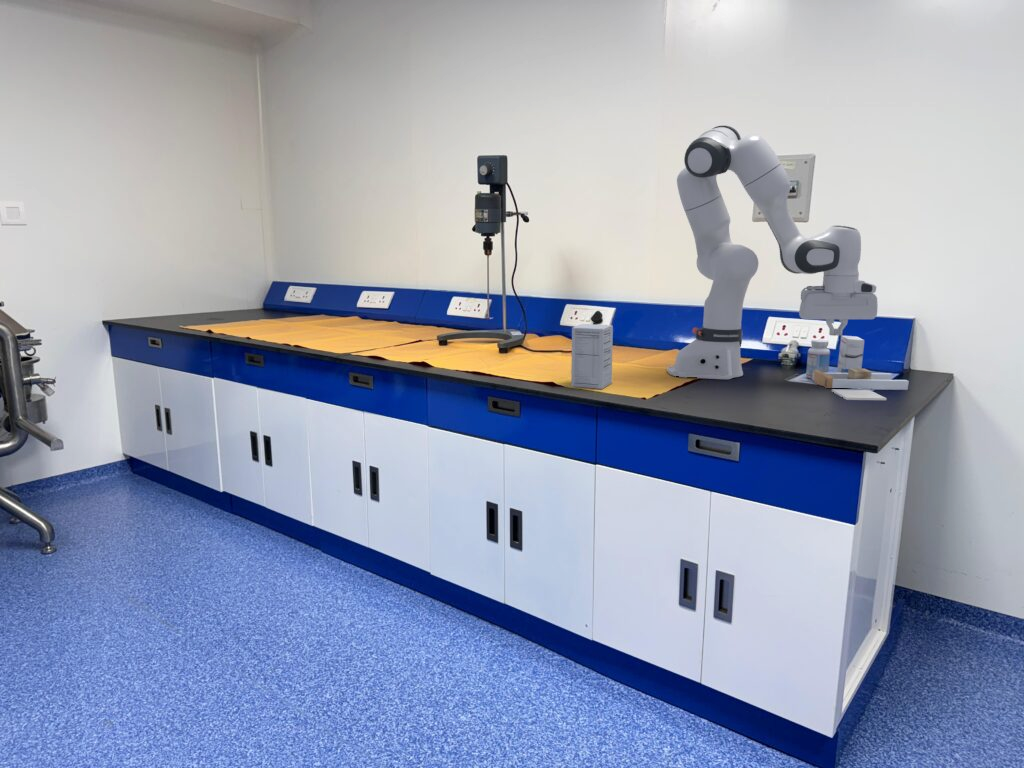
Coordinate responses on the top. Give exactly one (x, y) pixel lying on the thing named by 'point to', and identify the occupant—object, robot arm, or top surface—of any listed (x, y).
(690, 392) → the top surface
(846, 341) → the ink box
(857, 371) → the cube
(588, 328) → the supplement box
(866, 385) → the channel
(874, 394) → the tile
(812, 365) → the pill bottle
